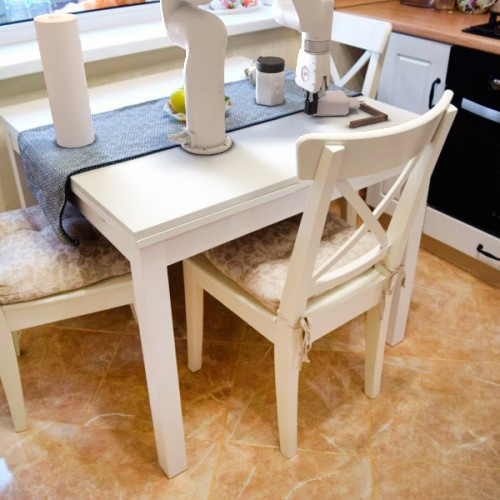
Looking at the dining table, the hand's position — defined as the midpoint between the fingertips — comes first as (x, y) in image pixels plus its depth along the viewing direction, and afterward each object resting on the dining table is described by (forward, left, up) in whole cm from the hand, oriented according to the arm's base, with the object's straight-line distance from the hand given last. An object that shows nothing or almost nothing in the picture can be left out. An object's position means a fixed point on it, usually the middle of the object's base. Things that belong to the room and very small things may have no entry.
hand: (310, 113), depth 162 cm
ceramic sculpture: (+3, +33, -2) cm, 33 cm away
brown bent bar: (+12, 0, -1) cm, 12 cm away
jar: (-3, +17, -2) cm, 17 cm away
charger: (+10, +1, -2) cm, 10 cm away
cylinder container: (-61, +15, -2) cm, 63 cm away
